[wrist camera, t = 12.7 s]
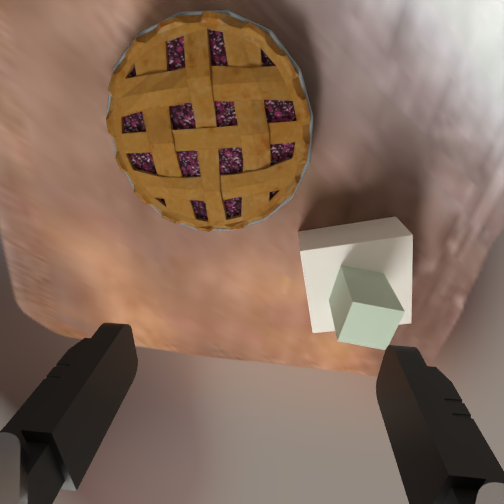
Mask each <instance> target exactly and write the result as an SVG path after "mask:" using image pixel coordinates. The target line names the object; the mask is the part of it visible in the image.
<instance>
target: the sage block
mask: <svg viewBox="0 0 504 504" xmlns="http://www.w3.org/2000/svg"><path fill="white" fill-rule="evenodd" d="M329 304H330V309H331V313H332V318H333V323H334V327H335V332H336V336H337V341H340V342H345V343H351V344H356V345H361V346H367V347H372V348H377V349H383V350H386V348H387V346H388V345H389V343H390V341H391V339H392V337H393V335H394V333H395V331H396V329H397V327H398V325H399V323H400V321H401V319H402V317H403V315H404V313H405V311H404V309H403V307H402V305H401V303H400V302H399V300H398V298H397V296H396V294H395V293H394V291H393V289H392V287H391V285H390V284H389V282H388V280H387V278H386V276H385V274H384V273H379V272H374V271H369V270H363V269H358V268H353V267H347V266H342V265H341V266H340V269H339V272H338V275H337V278H336V280H335V283H334V286H333V289H332V292H331V295H330V298H329Z"/></svg>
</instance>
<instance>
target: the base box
mask: <svg viewBox="0 0 504 504" xmlns="http://www.w3.org/2000/svg"><path fill="white" fill-rule="evenodd" d="M298 237H299V246H300V254H301V260H302V267H303V273H304V280H305V286H306V293H307V299H308V305H309V312H310V318H311V325H312V331H313V333H318V332H328V331H335V327H334V323H333V318H332V313H331V309H330V304H329V298H330V295H331V292H332V289H333V286H334V283H335V280H336V278H337V275H338V272H339V269H340V266H341V265H342V266H347V267H353V268H358V269H363V270H369V271H374V272H379V273H384V274H385V276H386V278H387V280H388V282H389V284H390V285H391V287H392V289H393V291H394V293H395V294H396V296H397V298H398V300H399V302H400V303H401V305H402V307H403V309H404V311H405V313H404V315H403V317H402V319H401V321H400V323H399V324H409V323H411V309H412V256H413V235H412V233H411V232H410V231H409V230H408V229H407V228H406V227H405V226H404V225H403V224H402V223H401V221H400V220H399V219H398V218H397V217H389V218H383V219H376V220H370V221H363V222H357V223H350V224H344V225H337V226H331V227H324V228H318V229H311V230H305V231H298Z"/></svg>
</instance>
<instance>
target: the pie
mask: <svg viewBox="0 0 504 504" xmlns="http://www.w3.org/2000/svg"><path fill="white" fill-rule="evenodd" d="M108 91H109V99H108V106H107V118H106V122H107V128H108V132H109V134H110V135H111V136H112V140H113V145H114V150H115V155H116V160H117V163H118V165H119V168H120V169H121V170H122V171H124V172H125V173H126V175H127V177H128V179H129V181H130V183H131V185H132V186H133V188H134V193H135V194H136V195H137V196H138V197H139V198H140V199H141V200H142V201H143V202H144V203H145V204H148V205H150V206H151V207H152V208H153V209H154V210H156V211H157V212H158V213H159V214H160V215H161V216H162V217H163V218H165V219H167V220H169V221H171V222H173V223H179V224H182V225H185V226H187V227H190V228H192V229H195V230H203V231H211V230H227V231H231V230H235V229H240V228H243V227H245V226H247V225H251V224H254V223H257V222H260V221H263V220H266V219H267V218H268V217H269V216H271V215H272V214H273V213H274V212H276V211H277V210H278V209H279V208H280V207H282V206H283V205H284V204H285V203H287V202H288V201H289V200H290V199H292V198H293V197H294V195H295V193H296V190H297V188H298V186H299V184H300V182H301V180H302V178H303V176H304V174H305V171H306V169H307V167H308V165H309V163H310V157H311V144H312V130H313V113H312V110H311V106H310V102H309V98H308V94H307V90H306V87H305V83H304V79H303V75H302V71H301V69H300V68H299V66H298V65H297V64H296V62H295V61H294V60H293V58H292V57H291V56H290V54H289V53H288V51H287V50H286V49H285V47H284V46H283V45H282V43H281V42H280V41H279V39H278V38H277V37H276V35H275V34H274V32H273V31H272V30H270V29H268V28H266V27H264V26H262V25H260V24H257V23H255V22H253V21H251V20H249V19H247V18H245V17H242V16H240V15H238V14H236V13H234V12H232V11H230V10H209V11H180V12H178V13H176V14H174V15H172V16H170V17H168V18H166V19H164V20H162V21H160V22H158V23H157V24H155V25H153V26H151V27H149V28H147V29H145V30H143V31H141V32H139V33H138V35H137V36H136V37H135V39H134V40H133V41H132V43H131V44H130V46H129V47H128V48H127V50H126V51H125V52H124V54H123V55H122V56H121V58H120V59H119V61H118V62H117V63H116V65H115V66H114V67H113V72H112V77H111V81H110V84H109V88H108Z"/></svg>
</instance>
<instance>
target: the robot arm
mask: <svg viewBox="0 0 504 504" xmlns="http://www.w3.org/2000/svg"><path fill="white" fill-rule="evenodd" d="M137 365H138V359H137V354H136V349H135V344H134V338H133V333H132V329H131V326H130V325H128V324H117V323H103V324H102V325H101V326H100V327H99V328H98V330H97V331H96V332H95V334H94V335H93V336H92V338H84V339H83V340H81V341H80V342H78V343H77V344H76V345H75V346H73V347H71V348H70V349H69V350H68V351H67V352H66V353H65V355H64V356H63V357H62V358H61V359H60V360H59V362H58V363H57V366H56V367H54V368H53V369H52V370H51V371H50V373H49V374H48V375H47V378H46V379H44V380H43V381H42V382H41V383H40V385H39V386H38V387H37V388H36V390H35V391H34V392H33V393H32V394H31V395H30V397H29V398H28V399H27V400H26V402H25V403H24V404H23V405H22V406H21V408H20V409H19V410H18V411H17V412H16V414H15V415H14V416H13V417H12V419H11V420H10V421H9V422H8V423H7V425H6V426H5V427H4V428H3V429H2V430H1V431H0V504H52V503H53V501H54V500H55V498H56V496H57V494H58V492H59V490H60V489H65V490H74V491H76V490H77V489H78V487H79V485H80V483H81V481H82V479H83V477H84V475H85V473H86V471H87V469H88V468H89V465H90V464H91V462H92V460H93V458H94V456H95V454H96V452H97V450H98V448H99V446H100V444H101V442H102V440H103V438H104V436H105V435H106V433H107V431H108V429H109V427H110V425H111V423H112V421H113V419H114V417H115V415H116V413H117V411H118V409H119V407H120V405H121V403H122V401H123V399H124V398H125V396H126V394H127V392H128V390H129V388H130V386H131V384H132V382H133V380H134V378H135V375H136V371H137ZM376 394H377V400H378V404H379V407H380V410H381V413H382V417H383V420H384V423H385V427H386V430H387V433H388V436H389V440H390V443H391V446H392V449H393V452H394V456H395V459H396V462H397V465H398V469H399V472H400V475H401V478H402V482H403V485H404V488H405V491H406V495H407V498H408V501H409V504H504V471H503V469H502V468H501V466H500V464H499V462H498V461H497V459H496V457H495V456H494V454H493V452H492V450H491V449H490V447H489V445H488V444H487V442H486V440H485V438H484V437H483V435H482V433H481V431H480V430H479V428H478V426H477V425H476V423H475V421H474V420H473V419H471V414H470V413H469V411H468V409H467V407H466V406H465V404H464V403H462V399H461V397H460V396H459V394H458V392H457V390H456V389H455V387H454V385H453V384H452V382H451V381H450V380H449V379H448V378H447V377H446V376H445V375H444V374H443V373H442V372H440V371H439V370H438V369H437V368H436V367H429V366H427V365H426V363H425V361H424V359H423V357H422V356H421V354H420V352H419V350H418V349H417V348H415V347H407V346H394V345H389V346H387V348H386V350H385V354H384V357H383V361H382V364H381V367H380V371H379V374H378V378H377V383H376Z"/></svg>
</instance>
